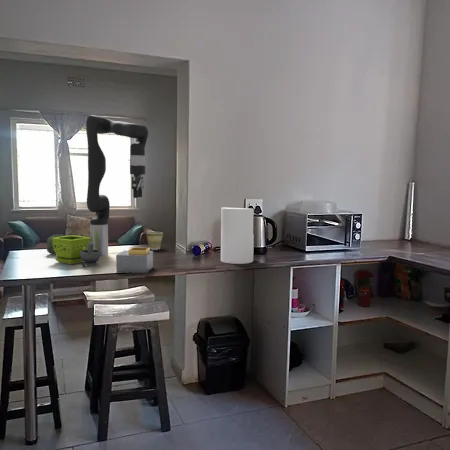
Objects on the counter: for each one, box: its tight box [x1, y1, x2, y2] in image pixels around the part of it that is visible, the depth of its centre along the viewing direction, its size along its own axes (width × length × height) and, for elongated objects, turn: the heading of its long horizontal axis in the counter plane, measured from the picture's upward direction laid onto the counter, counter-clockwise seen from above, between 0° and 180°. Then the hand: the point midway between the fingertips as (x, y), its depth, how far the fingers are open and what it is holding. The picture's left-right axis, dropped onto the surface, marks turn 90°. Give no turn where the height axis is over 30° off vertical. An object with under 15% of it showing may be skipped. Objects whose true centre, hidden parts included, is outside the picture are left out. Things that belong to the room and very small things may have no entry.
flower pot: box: [52, 235, 91, 265], centre depth 225 cm, size 14×14×13 cm
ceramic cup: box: [145, 231, 164, 251], centre depth 271 cm, size 13×10×10 cm
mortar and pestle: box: [80, 242, 101, 267], centre depth 218 cm, size 11×9×12 cm
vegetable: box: [46, 233, 65, 256], centre depth 247 cm, size 12×13×15 cm
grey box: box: [115, 246, 154, 274], centre depth 209 cm, size 14×13×10 cm
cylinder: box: [220, 206, 255, 265], centre depth 235 cm, size 17×17×28 cm
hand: (137, 197), depth 224 cm, fingers open, 8 cm apart
